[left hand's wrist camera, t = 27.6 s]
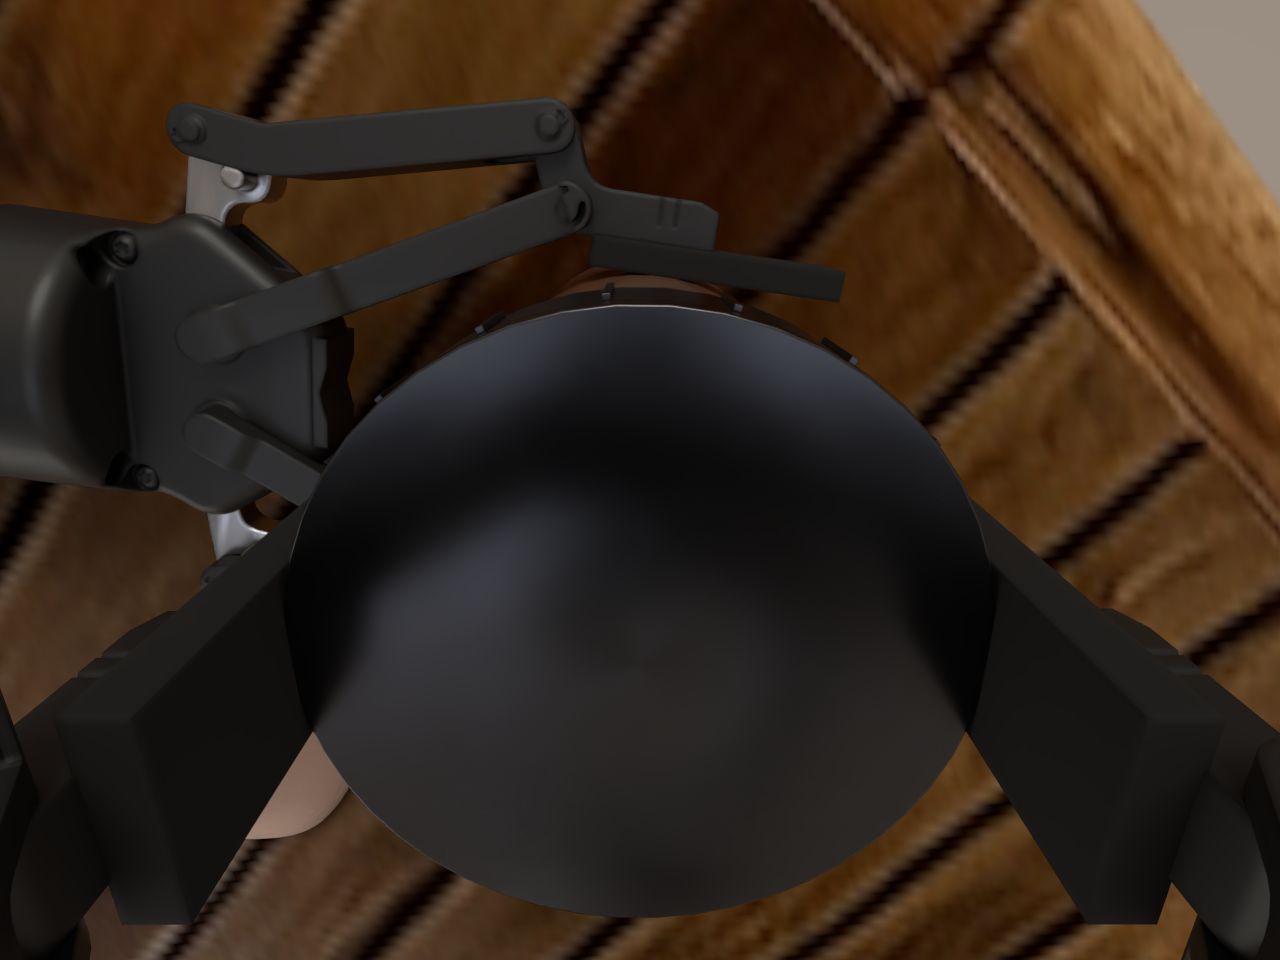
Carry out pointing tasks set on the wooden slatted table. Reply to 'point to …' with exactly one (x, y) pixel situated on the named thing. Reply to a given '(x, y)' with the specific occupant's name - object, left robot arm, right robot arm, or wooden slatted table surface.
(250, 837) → the anatomical model
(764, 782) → the lid
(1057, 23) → the wooden slatted table surface
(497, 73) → the wooden slatted table surface
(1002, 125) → the wooden slatted table surface
